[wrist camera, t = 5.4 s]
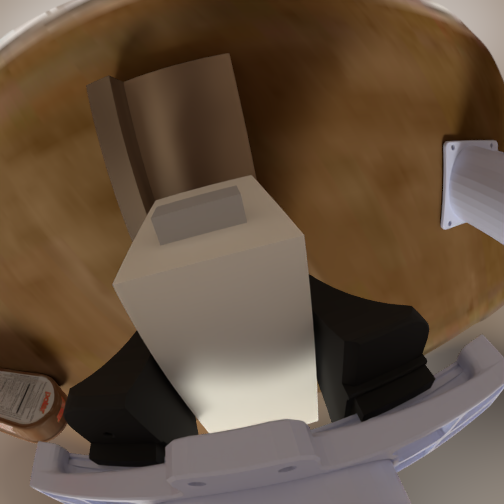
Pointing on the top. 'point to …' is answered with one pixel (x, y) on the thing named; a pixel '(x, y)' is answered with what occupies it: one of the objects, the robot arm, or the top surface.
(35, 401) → the tin
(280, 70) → the top surface
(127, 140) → the ledge board
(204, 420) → the cabinet block
